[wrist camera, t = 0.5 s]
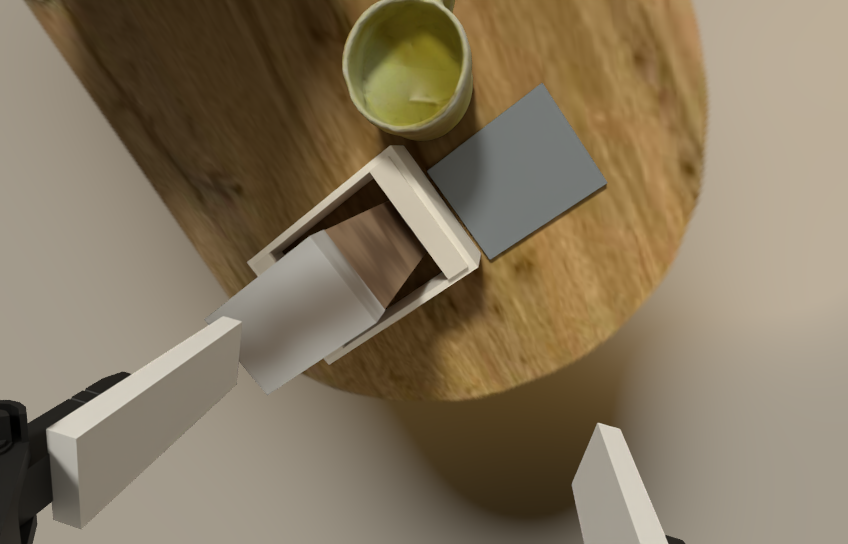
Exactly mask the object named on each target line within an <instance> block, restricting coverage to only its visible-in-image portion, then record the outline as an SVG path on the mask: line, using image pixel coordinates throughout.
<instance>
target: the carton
mask: <svg viewBox="0 0 848 544" xmlns="http://www.w3.org/2000/svg"><path fill="white" fill-rule="evenodd" d="M373 178H374V179H375V180H376V182H377V183H378V184H379V186H380V187H381V188H382V190H383V191H384V192H385V194H386V195H387V197H388V198H389V199H390V201H391V202H392V203H393V205H394V206H395V207H396V209H397V210H398V212H399V213H400V214H401V216H402V217H403V218H404V220H405V221H406V223H407V224H408V225H409V227H410V228H411V229H412V231H413V232H414V233H415V235H416V236H417V238H418V239H419V240H420V242H421V243H422V244H423V246H424V247H425V248H426V250H427V251H428V253H429V254H430V255H431V257H432V258H433V259H434V261H435V262H436V263H437V265H438V266H439V268H440V269H441V270H442V272H441V273H440V274H438V275H437V276H435V277H434V278H432V279H431V280H429V281H428V282H426V283H425V284H423V285H422V286H420V287H419V288H417V289H416V290H414V291H413V292H411V293H410V294H409V295H407V296H406V297H404V298H403V299H401V300H400V301H398V302H397V303H395V304H394V305H392V306H391V307H389V308H388V309H386V310H385V312H384V313H383V314H382V316H381V317H380V319H379V320H378V321H377V323H375V324H374V325H372V326H371V327H369V328H368V329H366V330H365V331H363V332H362V333H360V334H359V335H357V336H356V337H354V338H353V339H351V340H350V341H348V342H347V343H345V344H344V345H342V346H341V347H339V348H338V349H336V350H335V351H333V352H332V353H330V354H329V355H327V356H326V357H324V360H325V361H326V362H327V363H328V365H330V364H331V363H333V362H334V361H336V360H337V359H339V358H340V357H342V356H344V355H345V354H347V353H348V352H350V351H351V350H353V349H354V348H356V347H357V346H359V345H360V344H362V343H363V342H365V341H366V340H368V339H370V338H371V337H373V336H374V335H376V334H377V333H379V332H380V331H382V330H383V329H386V328H387V327H389V326H390V325H392V324H393V323H395V322H397V321H398V320H400V319H401V318H403V317H404V316H406V315H407V314H409V313H410V312H412V311H413V310H415V309H416V308H417V307H418V306H420V305H421V304H423V303H425V302H426V301H428V300H429V299H431V298H432V297H434V296H435V295H437V294H438V293H440V292H441V291H443V290H444V289H446V288H447V287H449V286H451V285H452V284H454V283H455V282H457V281H458V280H460V279H461V278H463V277H464V276H466V275H467V274H469V273H470V272H472V271H473V270H475V269H477V268H478V266H479V261H480V256H481V253H480V251H479V250H478V248H477V247H476V246H475V244H474V243H473V241H472V240H471V239H470V237H469V236H468V234H467V233H466V232H465V230H464V229H463V227H462V226H461V225H460V223H459V222H458V220H457V219H456V218H455V216H454V215H453V213H452V212H451V211H450V209H449V208H448V206H447V205H446V204H445V202H444V201H443V199H442V198H441V197H440V195H439V194H438V192H437V191H436V190H435V188H434V187H433V185H432V184H431V183H430V181H429V180H428V178H427V177H426V176H425V174H424V173H423V171H422V170H421V169H420V167H419V166H418V164H417V163H416V162H415V160H414V159H413V157H412V156H411V155H410V153H409V152H408V150H407V149H406V148H405V146H404V145H390V146H389V147H388V148H386V149H385V150H384V151H383V152H381V153H380V154H379V155H378V156H377V157H375V158H374V159H373V160H372V161H370V162H369V163H368V164H367V165H366V166H364V167H363V168H362V169H361V170H359V171H358V172H357V173H356V174H354V175H353V176H352V177H351V178H350V179H348V180H347V181H346V182H345V183H343V184H342V185H341V186H340V187H339V188H337V189H336V190H335V191H334V192H332V193H331V194H330V195H329V196H328V197H326V198H325V199H324V200H323V201H321V202H320V203H319V204H318V205H316V206H315V207H314V208H313V209H312V210H310V211H309V212H308V213H307V214H305V215H304V216H303V217H302V218H301V219H299V220H298V221H297V222H296V223H294V224H293V225H292V226H291V227H290V228H288V229H287V230H286V231H285V232H283V233H282V234H281V235H280V236H278V237H277V238H276V239H275V240H274V241H272V242H271V243H270V244H269V245H267V246H266V247H265V248H264V249H263V250H261V251H260V252H259V253H258V254H256V255H255V256H254V257H253V258H252V259H250V260H249V261H248V262H247V263H248V265H249V266H250V267H251V268H252V270H253V271H254V272H255V273H256V275H257V276H260V275H261V274H262V273H263V272H265V271H266V270H267V269H269V268H270V267H271V266H272V265H274V264H275V263H276V262H277V261H279V260H280V259H281V258H282V257H284V256H285V255H284V254H283V253H282V251H283V250H284V249H286V248H287V247H288V246H289V245H291V244H292V243H293V242H294V241H296V240H297V239H298V238H299V237H301V236H302V235H303V234H304V233H306V232H307V231H308V230H309V229H311V228H312V227H313V226H314V225H316V224H317V223H318V222H320V221H321V220H322V219H323V218H325V217H326V216H327V215H328V214H330V213H331V212H332V211H333V210H335V209H336V208H337V207H338V206H340V205H341V204H342V203H343V202H345V201H346V200H347V199H348V198H350V197H351V196H352V195H353V194H355V193H356V192H357V191H358V190H360V189H361V188H362V187H363V186H365V185H366V184H367V183H368V182H370V181H371V180H372V179H373Z"/></svg>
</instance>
